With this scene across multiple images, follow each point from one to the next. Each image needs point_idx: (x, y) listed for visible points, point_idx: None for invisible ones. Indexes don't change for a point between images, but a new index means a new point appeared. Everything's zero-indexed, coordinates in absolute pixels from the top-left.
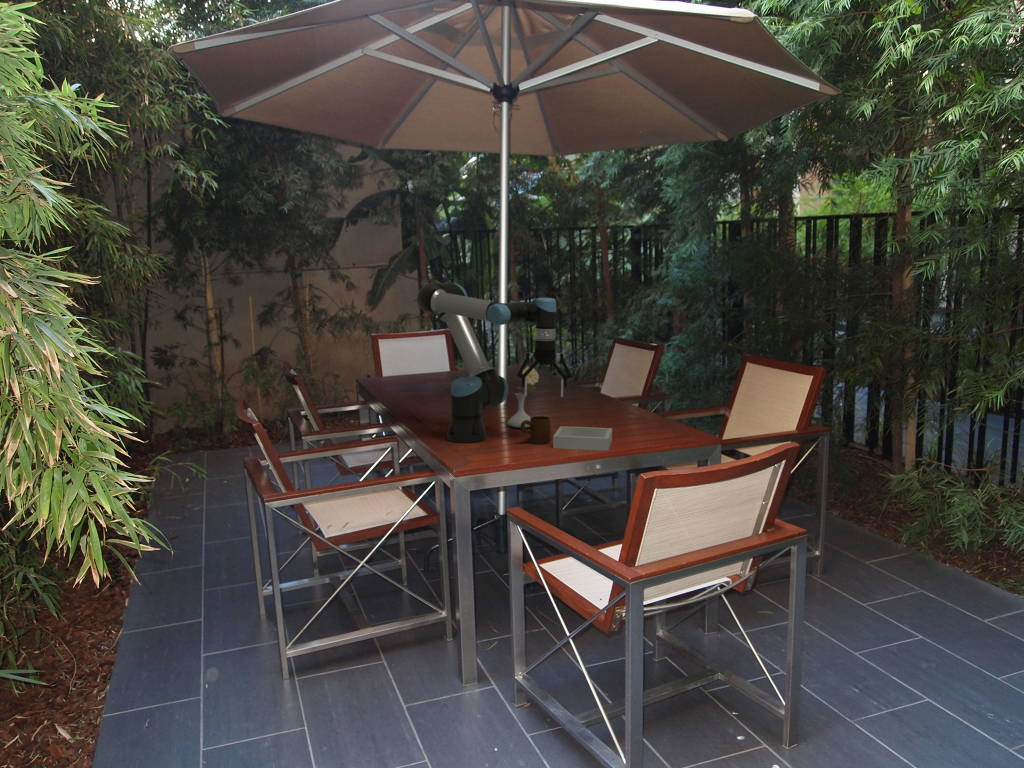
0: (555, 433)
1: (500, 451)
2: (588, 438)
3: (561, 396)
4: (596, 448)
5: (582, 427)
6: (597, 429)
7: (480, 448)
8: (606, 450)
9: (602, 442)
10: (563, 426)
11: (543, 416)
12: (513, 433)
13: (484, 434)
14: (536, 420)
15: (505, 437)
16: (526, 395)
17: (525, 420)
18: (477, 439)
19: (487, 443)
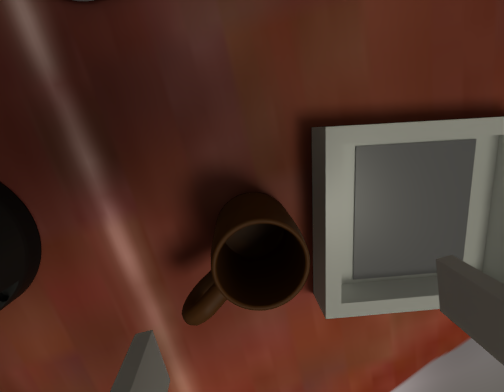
0: (326, 273)
1: None
2: None
3: (446, 311)
4: None
5: (426, 129)
6: (487, 135)
7: (81, 357)
8: None
9: None
10: (340, 129)
11: (268, 223)
12: (102, 96)
13: (26, 259)
14: (253, 309)
15: (99, 180)
16: (167, 385)
17: (199, 318)
18: (23, 290)
19: (73, 289)
